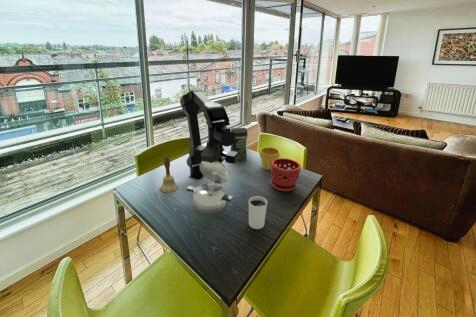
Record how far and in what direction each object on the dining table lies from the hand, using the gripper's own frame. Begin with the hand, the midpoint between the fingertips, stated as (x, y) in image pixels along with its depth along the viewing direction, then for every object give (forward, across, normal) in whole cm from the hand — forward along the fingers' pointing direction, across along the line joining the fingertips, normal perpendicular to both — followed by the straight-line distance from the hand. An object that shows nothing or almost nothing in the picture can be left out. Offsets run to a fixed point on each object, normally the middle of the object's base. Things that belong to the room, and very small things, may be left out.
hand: (216, 172), depth 107 cm
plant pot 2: (+12, +25, +20) cm, 34 cm away
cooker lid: (-1, 0, -2) cm, 3 cm away
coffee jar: (+12, -6, +39) cm, 41 cm away
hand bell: (+12, -23, -3) cm, 26 cm away
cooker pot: (+11, 0, -7) cm, 13 cm away
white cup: (+12, +22, -11) cm, 27 cm away
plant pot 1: (+12, +13, +36) cm, 40 cm away
